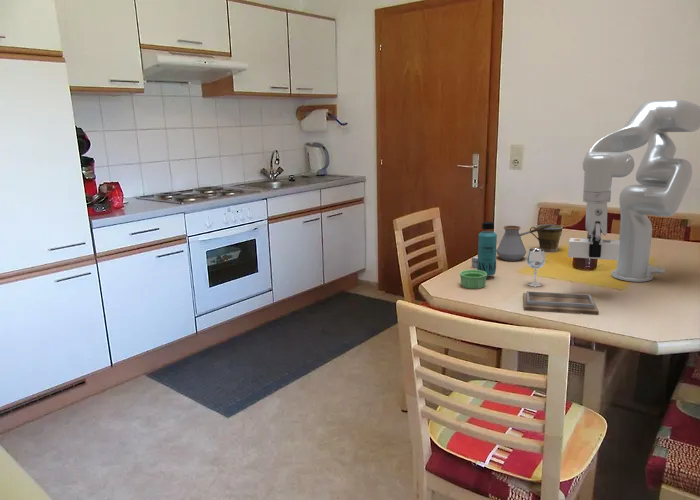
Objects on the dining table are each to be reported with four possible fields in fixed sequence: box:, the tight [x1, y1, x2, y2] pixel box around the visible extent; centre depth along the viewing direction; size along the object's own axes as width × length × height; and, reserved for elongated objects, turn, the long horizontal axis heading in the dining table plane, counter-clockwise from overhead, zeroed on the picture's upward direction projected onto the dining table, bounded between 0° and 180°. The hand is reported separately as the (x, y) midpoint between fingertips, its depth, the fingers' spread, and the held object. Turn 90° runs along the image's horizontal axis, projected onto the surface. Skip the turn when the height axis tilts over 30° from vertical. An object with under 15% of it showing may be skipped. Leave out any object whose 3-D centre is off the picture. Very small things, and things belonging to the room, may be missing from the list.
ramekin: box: [459, 269, 488, 290], centre depth 176 cm, size 9×9×4 cm
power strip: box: [567, 237, 620, 261], centre depth 160 cm, size 14×5×5 cm, turn 63°
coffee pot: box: [496, 224, 553, 262], centre depth 204 cm, size 21×12×15 cm, turn 56°
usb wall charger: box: [471, 256, 478, 270], centre depth 198 cm, size 4×7×4 cm, turn 119°
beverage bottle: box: [476, 221, 498, 277], centre depth 183 cm, size 6×7×20 cm
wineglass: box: [526, 247, 546, 288], centre depth 173 cm, size 6×6×12 cm
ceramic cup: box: [529, 223, 564, 253], centre depth 218 cm, size 13×10×10 cm
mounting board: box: [522, 290, 600, 316], centre depth 155 cm, size 20×13×2 cm, turn 73°
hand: (593, 253), depth 161 cm, fingers closed on power strip, 5 cm apart
